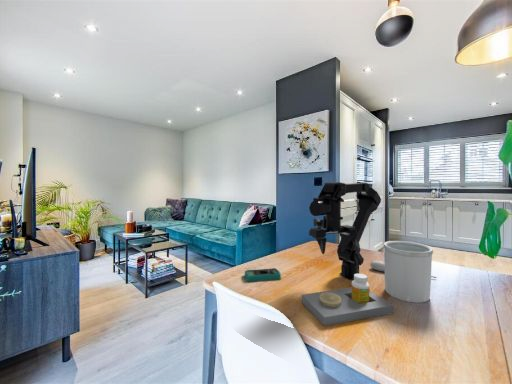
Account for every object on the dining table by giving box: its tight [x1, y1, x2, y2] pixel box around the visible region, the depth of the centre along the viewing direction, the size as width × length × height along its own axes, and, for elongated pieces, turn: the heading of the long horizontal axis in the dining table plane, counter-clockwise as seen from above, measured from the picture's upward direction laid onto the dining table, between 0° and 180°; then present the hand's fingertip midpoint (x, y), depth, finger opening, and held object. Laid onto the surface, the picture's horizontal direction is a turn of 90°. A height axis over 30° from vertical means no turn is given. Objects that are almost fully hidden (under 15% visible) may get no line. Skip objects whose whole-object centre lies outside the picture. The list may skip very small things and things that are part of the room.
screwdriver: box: [369, 260, 438, 279], centre depth 105 cm, size 5×25×4 cm, turn 59°
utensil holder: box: [383, 240, 434, 304], centre depth 86 cm, size 15×15×18 cm
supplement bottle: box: [351, 273, 371, 304], centre depth 78 cm, size 5×5×10 cm
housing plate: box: [301, 286, 394, 327], centre depth 77 cm, size 24×14×4 cm, turn 106°
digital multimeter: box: [244, 267, 282, 283], centre depth 101 cm, size 7×15×3 cm, turn 101°
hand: (332, 252), depth 95 cm, fingers open, 9 cm apart
